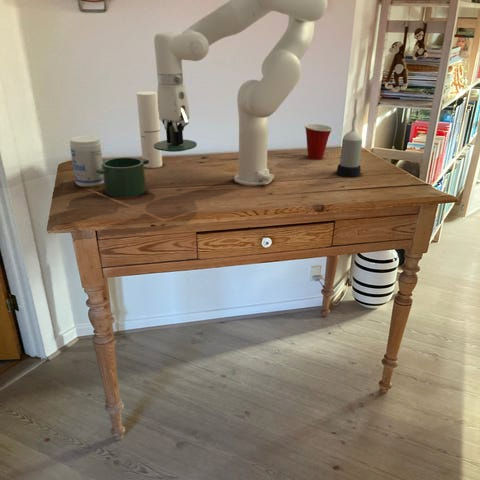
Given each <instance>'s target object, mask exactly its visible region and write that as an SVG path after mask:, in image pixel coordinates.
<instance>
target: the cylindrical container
mask: <svg viewBox="0 0 480 480" xmlns="http://www.w3.org/2000/svg"><path fill="white" fill-rule="evenodd" d="M157 92H158V91H157ZM157 92H156V91H138V92H136V102H137V113H138V114H137V115H138V125H139V136H140V147H141V148H140V149H141V156H142V159H146V160H149V163H148V164H144V168H147V169H152V168H154V169H155V168H160V167H162V166H163V156H162V151H161V150H157V149H155V148H154V144H155V143H157V142H160V141H162V139H161V127H160V125H161V124H160V119H159V113H158V100H157ZM142 159H141V160H142Z"/></svg>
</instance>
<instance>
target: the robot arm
mask: <svg viewBox="0 0 480 480" xmlns="http://www.w3.org/2000/svg"><path fill="white" fill-rule="evenodd" d="M327 9H328V0H228V1H227V2H225V3H223V4H222V5H220V6H219V7H217V8H216V9H214V10H213V11H212V12H210V13H209V14H207V15H205V16H204V17H202V18H201V19H199V20H198V21H196V22H194V23H193V24H192V25H190V26H189V27H187V28H186V29H185V30H183V31H182V32H181V33H179V34H178V33H177V32H159V33H158V32H157V33H156V34H155V35H154V38H153V42H154V43H153V44H154V54H155V67H156V76H157V100H158V113H159V121H161V123H162V125H163V126H164V131H165V133H166V136H165V137H166V140H167V143H171V141H170V128H169V126H172V125H174V130H175V132H173V134H174V144H175V145H180V144H183V140H184V135H183V132H184V128H185V127H186V126H187V125H189V123H190V122H189V120H190V107H189V100H188V99H189V98H188V94H187V89H186V86H185V85H184V73H183V61H190V62H198V61H202V60H203V59H205V58H206V57H207V55H208V53H209V49H210V46H212V45H214V44H215V43H217V42H219V41H220V40H222V39H224V38H228V37H231V36H235V35H237V34H240V33H242V32H244V31H245V30H246V29H248V28H250V27H251V26H252V25H254V23H256V22H258V21H259V20H260V19H261V18H264V17H265V16H267V15H268V14H270V13H271V12H276V13H279V14H283V15H286V16H288V23H287V27H286V29H285V31H284V33H283V34H282V36H281V37H280V39H279V40H278V42H277V43H276V44H275V45H274V46H273V48H272V49H271V51H270V52H269V53H268V54H267V56H266V57H265V58H264V59H263V61H262V64H261V74H262V76H263V77H261V79H260V80H258V79H249V80H246V81H245V82H243V83H242V84H241V85H240V87H239V89H238V92H237V97H236V98H237V99H236V102H237V103H236V104H237V113H238V174H236V175H234V177H233V181H234V182H236V184H237V183H238V184H241V185H245V186H261V185H268V184H270V183H271V182H272V181H273V180H274V178H275V175H274V174H272V173H270V168H268V145H269V144H268V143H269V142H268V141H269V117H270V116H271V115H273V114H274V113H275V112H276V111H278V109H279V108H280V106H281V105H282V104H283V103H284V101H286V99H287V97H289V95H290V94H291V93H292V91H293V90H294V89H295V87H296V86H297V84H298V83H299V81H300V78H301V75H302V64H301V59H302V58H303V56H304V55H305V53H306V52H307V51H308V49H309V48H310V46H311V44H312V41H313V39H314V33H315V22H316V21H318V20H321V18H323V17H324V15H325V13H326V12H327Z"/></svg>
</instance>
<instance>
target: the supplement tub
mask: <svg viewBox="0 0 480 480" xmlns="http://www.w3.org/2000/svg"><path fill="white" fill-rule="evenodd" d="M101 144H102V143H101V141H100V137H98V136H96V135H77V136H73V137H70V138H69V147H70V154H71V155H70V156H71V162H72V168H73V169H72V170H73V175H74V182H75V185H77V186H78V187H81V188H86V187H94V186H100V185H102V184H104V178H103V174H98V173H96V170H97V169H101V168H102V163H103V162H104V161H103V153H102V145H101Z"/></svg>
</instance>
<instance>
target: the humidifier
mask: <svg viewBox="0 0 480 480" xmlns="http://www.w3.org/2000/svg"><path fill="white" fill-rule="evenodd" d="M360 101H361V102H360V104H363V103H362V102H363V100H360ZM357 108H358V98H354V104H353V117H352V121H351V130H350V131H348V132H346V133H345V134H344V135H343V137H342V140H341V150H340V158H339V159H340V160H339V164H338V165H337V169H336V175H338V176H340V177H343V178H356V177H360V176H361V169H362V167H361V165H360V163H361V162H360V161H361V155H362V147H363V137H362V135H361V134H360V133H359V132H358V131H357V130H359V128H360V125H358V127H357V130H356V119H357V117H358V115H357ZM361 109H362V108H360V110H359V112H361V111H362V110H361ZM360 121H361V116H359V121H358V122H360Z"/></svg>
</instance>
